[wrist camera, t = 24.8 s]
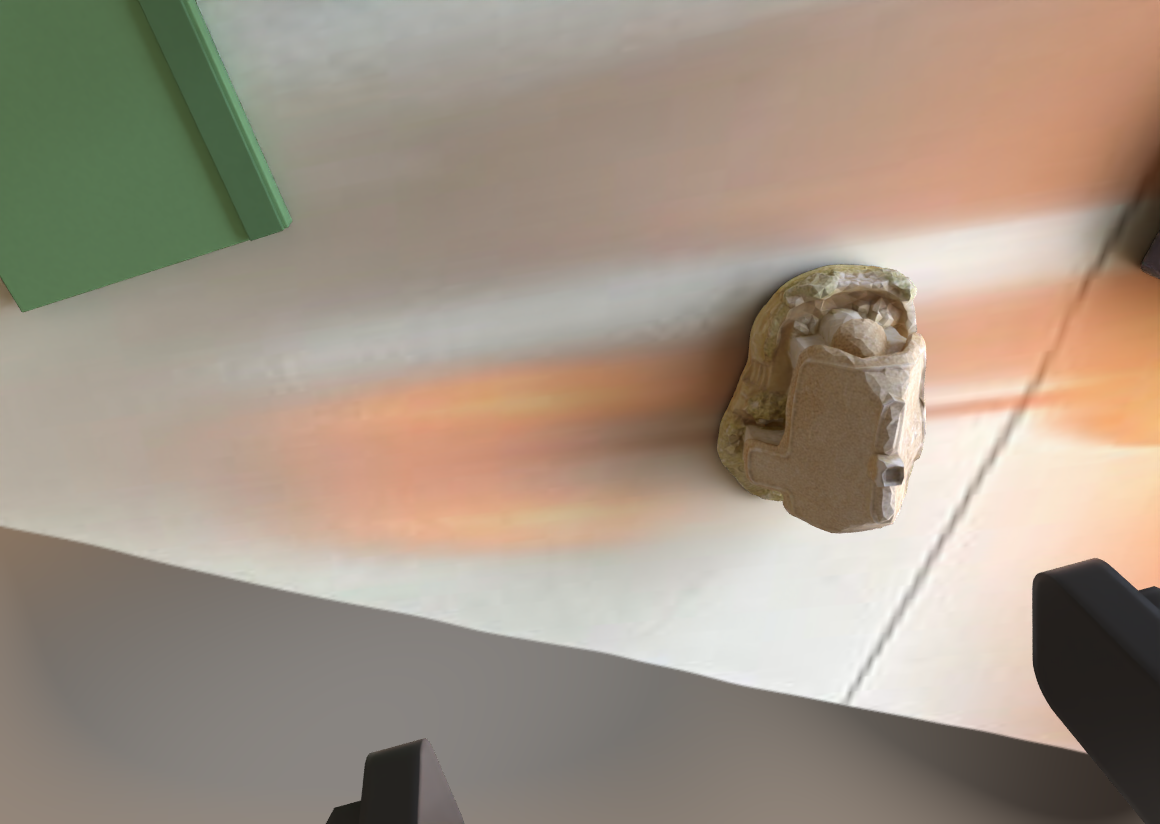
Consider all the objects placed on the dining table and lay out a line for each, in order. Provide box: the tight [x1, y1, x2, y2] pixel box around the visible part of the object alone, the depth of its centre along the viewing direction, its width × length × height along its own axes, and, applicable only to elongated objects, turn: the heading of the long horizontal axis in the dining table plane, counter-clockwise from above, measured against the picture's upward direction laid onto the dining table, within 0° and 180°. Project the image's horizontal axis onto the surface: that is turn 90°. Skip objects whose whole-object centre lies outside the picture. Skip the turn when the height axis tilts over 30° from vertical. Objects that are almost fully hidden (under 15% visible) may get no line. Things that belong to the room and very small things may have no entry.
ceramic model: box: [717, 264, 926, 533], centre depth 46 cm, size 14×11×10 cm
